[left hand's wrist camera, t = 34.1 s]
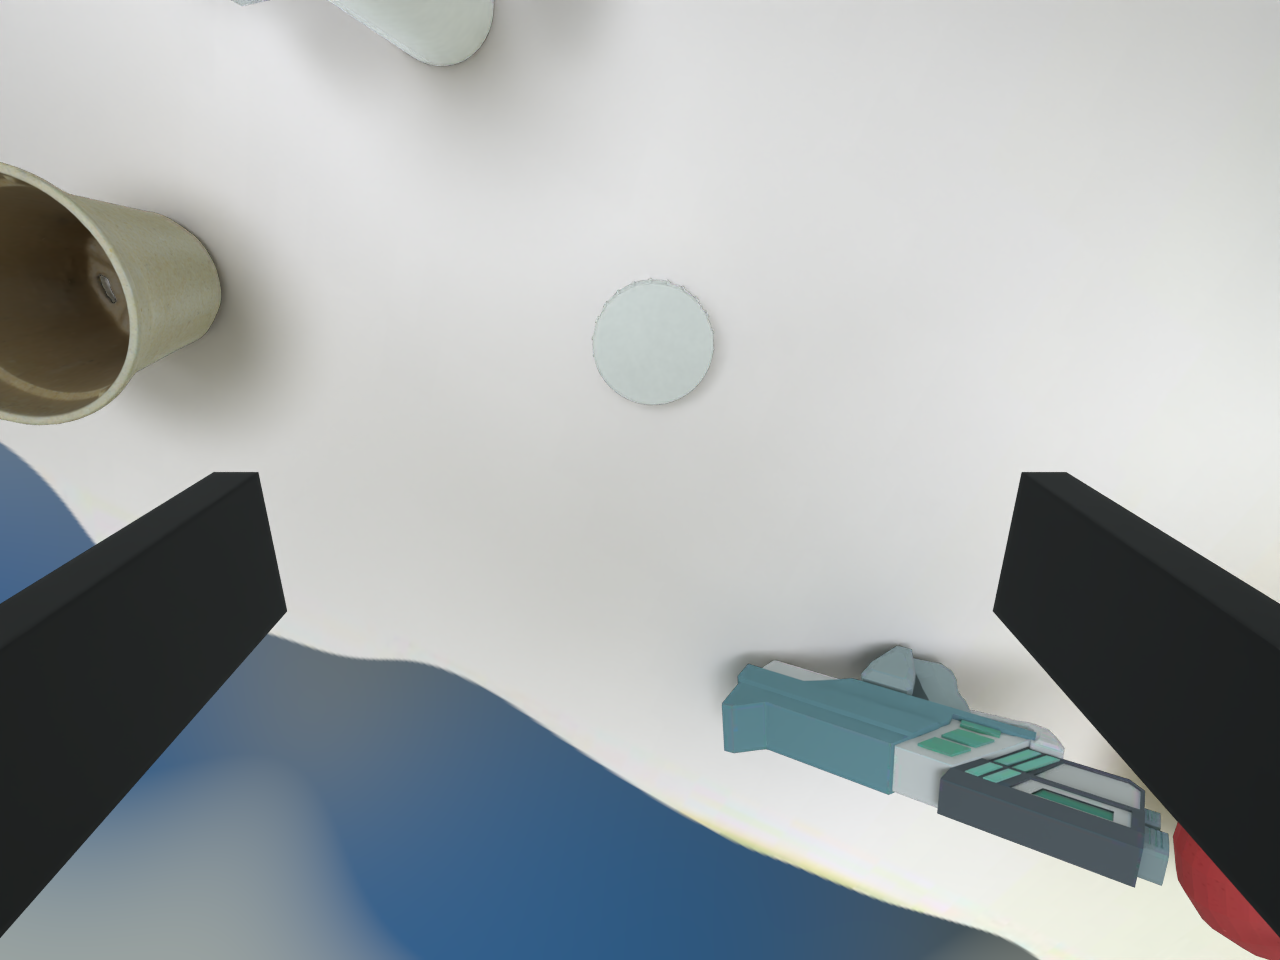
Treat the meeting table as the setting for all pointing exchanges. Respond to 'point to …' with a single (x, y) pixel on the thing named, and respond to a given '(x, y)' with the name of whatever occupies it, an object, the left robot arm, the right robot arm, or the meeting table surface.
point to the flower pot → (89, 298)
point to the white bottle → (426, 25)
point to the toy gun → (949, 759)
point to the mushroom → (1221, 900)
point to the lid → (653, 342)
